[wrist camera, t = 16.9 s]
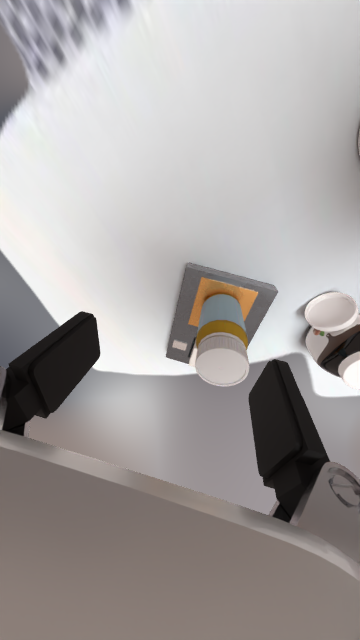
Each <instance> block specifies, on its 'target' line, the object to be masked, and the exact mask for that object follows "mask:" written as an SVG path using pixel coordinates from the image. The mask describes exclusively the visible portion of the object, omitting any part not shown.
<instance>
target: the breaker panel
mask: <svg viewBox="0 0 360 640" xmlns="http://www.w3.org/2000/svg"><path fill="white" fill-rule="evenodd" d="M217 293H226V294H230V295H232V296H233V297H235V298H236V299H237V300H238V302H239V303H240V306H241V310H242V315H243V319H244V324H245V329H246V333H247V338H248V345H249V343H250V342H251V340H252V338H253V336H254V334H255V333H256V331H257V329H258V327H259V325H260V323H261V322H262V320H263V318H264V316H265V314H266V313H267V311H268V309H269V307H270V305H271V304H272V302H273V300H274V298H275V296H276V295H277V293H278V291H277V289H276V288H275V286H274V285H271V284H267V283H263V282H260V281H256V280H252V279H248V278H245V277H241V276H237V275H234V274H230V273H226V272H222V271H219V270H215V269H211V268H207V267H204V266H200V265H196V264H192V263H188V265H187V266H186V270H185V275H184V279H183V283H182V288H181V292H180V296H179V301H178V305H177V309H176V314H175V318H174V322H173V327H172V331H171V336H170V340H169V344H168V349H167V353H166V357H167V358H170V359H173V360H177V361H180V362H184V363H187V364H189V360H190V356H191V351H192V349H191V346H192V342H193V339H194V337H195V338H196V336H197V331H198V325H199V320H200V315H201V309H202V306H203V303H204V302H205V300H206V299H207V298H208V297H210V296H211V295H214V294H217Z"/></svg>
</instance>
